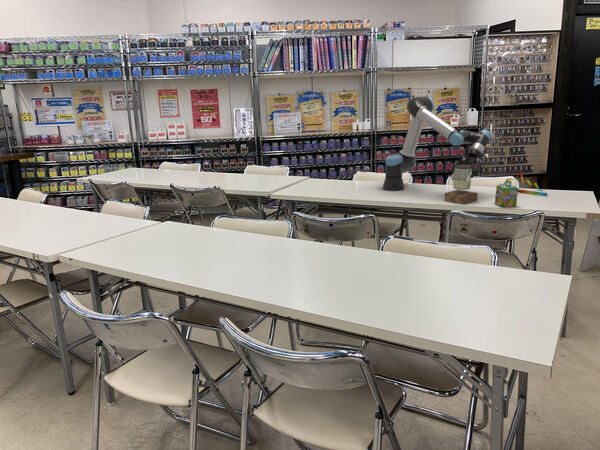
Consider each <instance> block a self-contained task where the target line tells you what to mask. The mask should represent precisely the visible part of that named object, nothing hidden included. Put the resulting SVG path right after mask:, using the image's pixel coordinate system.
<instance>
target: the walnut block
mask: <svg viewBox="0 0 600 450" xmlns="http://www.w3.org/2000/svg"><path fill="white" fill-rule="evenodd" d="M478 195H479V192H475V191H468V190H458V189H454V190H451V191H447V192H444V201H445V202H449V203H453V204H454V203H455V204H461V205H467V204H471V203H474V202H477V201H478Z"/></svg>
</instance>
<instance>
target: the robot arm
mask: <svg viewBox="0 0 600 450" xmlns="http://www.w3.org/2000/svg"><path fill="white" fill-rule="evenodd" d="M434 109H435V103H434V101H433V99H432V98H431V97H429V96H424V95H423V96H415V97H412V98H411V99H409V100H408V102H407V103H406V110H407V113H408V114H409V115H410V116H411V121H410V124H409V127H408V130H407V133H406V137H405V140H404V143H403V148H402V149H401V150H400V151H399V153H398V154H393V155H392V154H391V155H388V156H387V157H386V158H385V176H384V177H385V179H384V181H383V184H382V189H383V190H386V191H391V192H392V191H393V192H395V191H397V192H398V191H403V190H405V183H404V180H403V173H404V172H409V171H411V170H413V169H414V168H415V166H416V164H417V159H416V153H415V152H416V149H417V146H418V141H419V139H420V135H421V134H422V133H421V132H422V130H423V127H424V124H426V125H427V126H429V127H430V128H431V129H433V130H435V132H437V133H439V134H440V135H441V136H443V137H444V138H446V139H447V140H448V141H449V143H450V145H452V146H456V147H457V146H461V145H465V144H470V145H472V146H471V147H470V149H469V151H468V153H467V156H466V157H464V156H460V158H459V160H458V161H457V162H456V163H455V164H454V165H453V166H452V170H453V172H452V175H451V177H450V179H451V180H452V181H453V182H454V168H455V167H454V166H455V165H459V164H466V165H471V166H472V171H471V172H470V174H469V176H468V178H467V179H466V181H467V182H468V183H469V182H470V180H471V181H472V179H473V178H474V177H475V175H476V174H480V169H481V166H482V163H483V160H482V158H481V156H482V155H483V153H484V151H485V149H486V147H487V145H488V144H489V143H490V141H491V138H492V132H490V130H487V129H481V130H480V131H479V132H476V131H475V132H474V131H469V130H466V129H465V130H463V129H462V130H457V129H456V128H455V127H453V126H452V125H451V124H449V123H447V122H446V121H444V120H443V119H442V118H440V117H439V116H437V115H436V114H435V113H433V112H432V111H433V110H434Z"/></svg>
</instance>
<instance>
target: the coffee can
mask: <svg viewBox="0 0 600 450" xmlns="http://www.w3.org/2000/svg"><path fill="white" fill-rule="evenodd" d="M454 165H455V164H454ZM454 165H453V167H455V168H454V170H453V172H454V181H453V189H454V190H463V191H468V190H471V183H472V179H471V180H470V182H469V183H468V182H467V181H466V179H467V178H468V176H469V174H470V172H473V171H472V165H470V164H468V165H466V164H459V165H455V166H454Z"/></svg>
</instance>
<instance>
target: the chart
mask: <svg viewBox="0 0 600 450" xmlns="http://www.w3.org/2000/svg"><path fill="white" fill-rule="evenodd" d="M519 175H520V180H521V184H524V183H528V185H529V186H532V185H534V186H535V188H536V189H537V191H536V190H527V189H520V188H518V194H525V195H535V196H541V197H547V196H548V192H545V191H546V190H548V188H546V189H540V188H539V185H538V183H537V182H534V183H532V182H531V181H530V180H529V179H526V180H525V181H524V176H523V171H522V169H520V170H519V171H518V172H517V175H516V176H515V178H508V177H507V178H506V180H505V181H504V183H499V184H498V185H506V183H507V180H508V181H513V180H517V178H518V177H519Z"/></svg>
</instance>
